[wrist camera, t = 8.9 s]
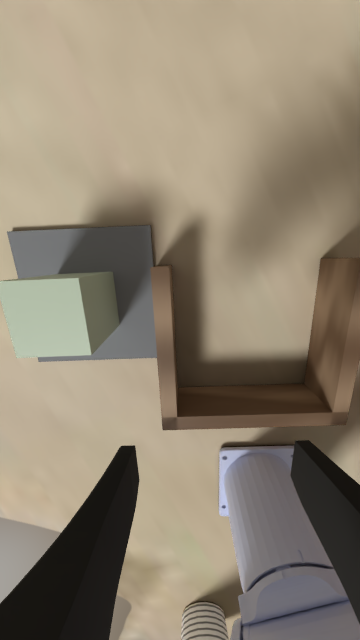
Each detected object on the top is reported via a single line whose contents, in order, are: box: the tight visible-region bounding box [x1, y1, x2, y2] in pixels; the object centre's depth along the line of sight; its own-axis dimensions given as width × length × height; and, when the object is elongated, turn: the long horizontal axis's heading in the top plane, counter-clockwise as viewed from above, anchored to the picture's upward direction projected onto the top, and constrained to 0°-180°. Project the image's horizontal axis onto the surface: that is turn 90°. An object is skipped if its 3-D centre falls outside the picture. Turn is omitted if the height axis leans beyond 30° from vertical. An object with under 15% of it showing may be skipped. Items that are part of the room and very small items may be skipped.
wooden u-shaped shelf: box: [150, 258, 360, 430], centre depth 17 cm, size 13×14×4 cm
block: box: [0, 272, 120, 358], centre depth 15 cm, size 4×4×6 cm
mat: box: [7, 225, 157, 362], centre depth 18 cm, size 11×11×1 cm
